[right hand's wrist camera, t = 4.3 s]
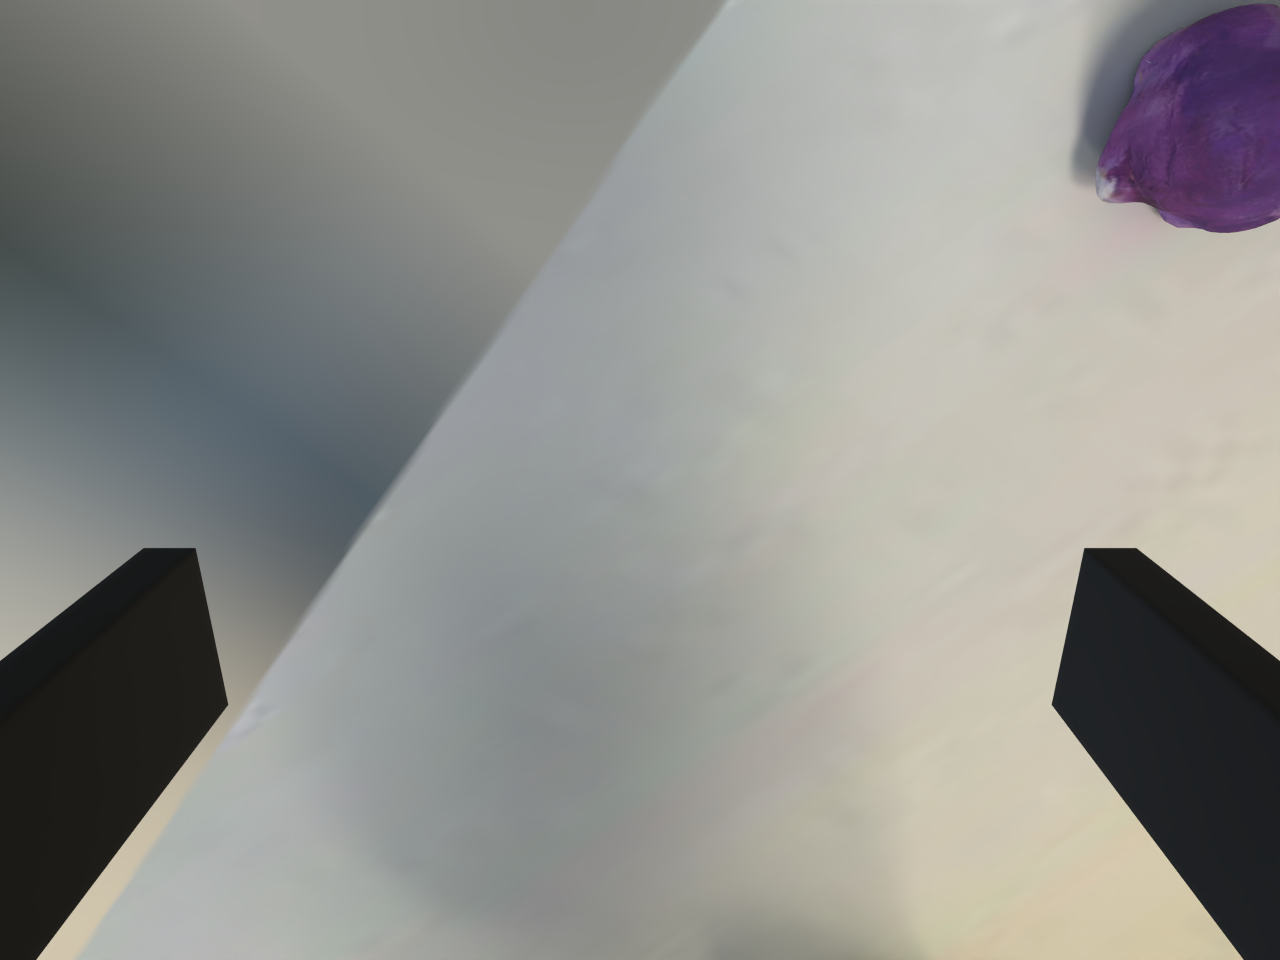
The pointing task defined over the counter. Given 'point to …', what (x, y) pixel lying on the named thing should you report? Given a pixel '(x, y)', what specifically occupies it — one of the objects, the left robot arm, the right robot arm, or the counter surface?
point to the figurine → (1203, 125)
